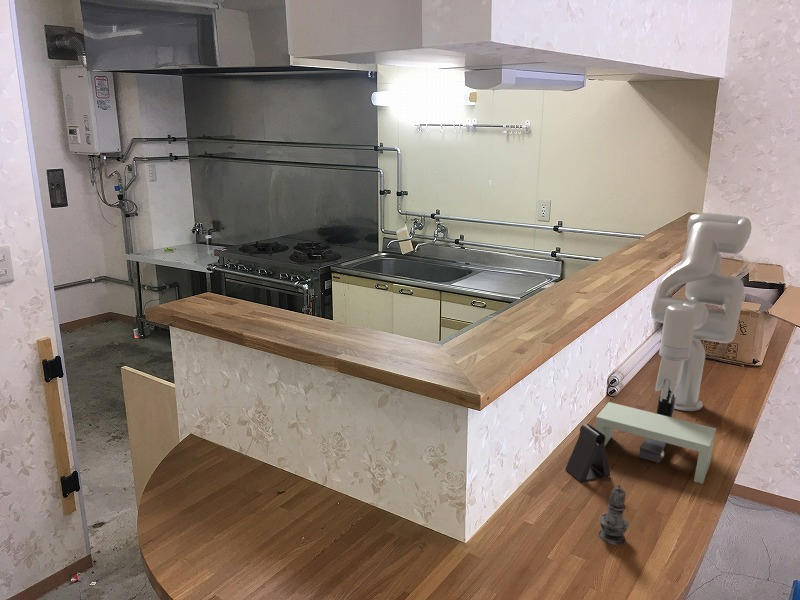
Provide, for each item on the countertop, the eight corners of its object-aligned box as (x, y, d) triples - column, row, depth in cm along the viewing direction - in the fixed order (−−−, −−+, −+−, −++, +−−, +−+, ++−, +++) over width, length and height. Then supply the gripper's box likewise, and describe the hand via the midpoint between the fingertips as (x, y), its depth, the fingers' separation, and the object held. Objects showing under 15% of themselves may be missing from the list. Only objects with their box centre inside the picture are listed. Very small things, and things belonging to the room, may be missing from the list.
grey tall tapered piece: (623, 549, 130) (630, 496, 126) (593, 538, 132) (600, 486, 129) (629, 534, 134) (637, 483, 131) (601, 525, 137) (608, 474, 134)
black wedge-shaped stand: (595, 465, 163) (600, 421, 160) (610, 476, 157) (616, 431, 154) (564, 470, 160) (570, 425, 157) (579, 482, 154) (585, 436, 151)
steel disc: (642, 447, 173) (643, 443, 173) (665, 453, 170) (666, 449, 170) (636, 455, 169) (637, 451, 168) (660, 462, 165) (661, 458, 165)
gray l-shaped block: (652, 433, 181) (658, 393, 178) (671, 438, 179) (677, 398, 176) (638, 457, 167) (644, 414, 164) (658, 462, 165) (665, 419, 162)
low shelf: (604, 435, 179) (608, 401, 177) (709, 464, 166) (716, 428, 163) (591, 451, 170) (596, 416, 167) (702, 483, 156) (709, 446, 153)
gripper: (665, 340, 181) (656, 401, 186) (653, 355, 168) (644, 420, 173) (694, 346, 177) (684, 407, 182) (684, 362, 164) (673, 428, 169)
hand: (664, 413), depth 177 cm, fingers closed on gray l-shaped block
